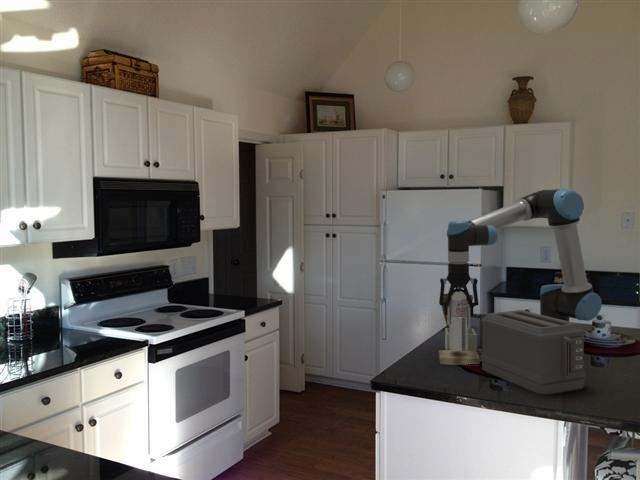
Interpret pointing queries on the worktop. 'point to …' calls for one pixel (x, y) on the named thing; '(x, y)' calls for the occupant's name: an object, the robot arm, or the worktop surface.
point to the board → (458, 357)
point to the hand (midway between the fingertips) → (458, 324)
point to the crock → (471, 340)
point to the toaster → (534, 351)
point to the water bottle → (458, 321)
